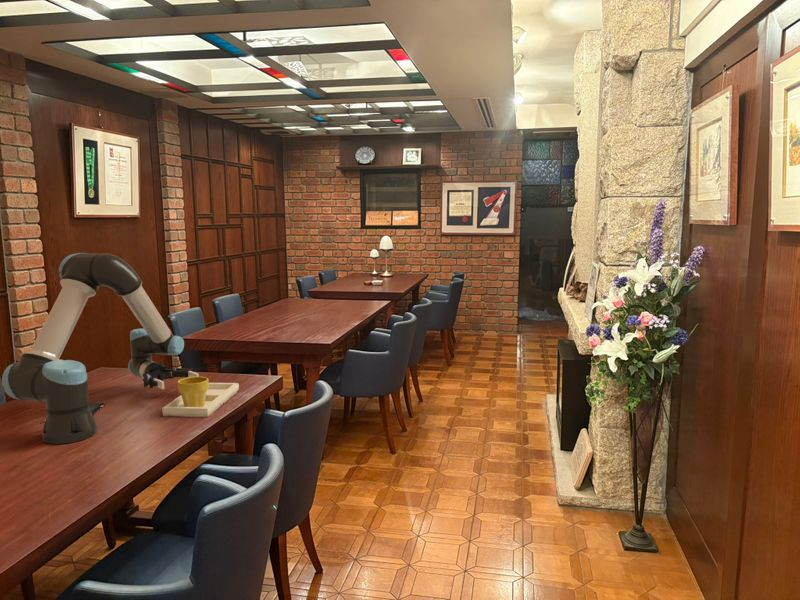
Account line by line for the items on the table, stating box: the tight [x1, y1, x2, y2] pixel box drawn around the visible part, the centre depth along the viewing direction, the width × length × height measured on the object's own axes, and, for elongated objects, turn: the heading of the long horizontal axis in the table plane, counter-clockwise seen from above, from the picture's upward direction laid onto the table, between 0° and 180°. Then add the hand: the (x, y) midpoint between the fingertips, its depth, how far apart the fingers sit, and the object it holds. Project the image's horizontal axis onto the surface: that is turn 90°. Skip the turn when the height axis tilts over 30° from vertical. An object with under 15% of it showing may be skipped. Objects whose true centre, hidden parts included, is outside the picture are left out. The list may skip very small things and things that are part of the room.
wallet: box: [39, 402, 107, 425], centre depth 201 cm, size 20×2×15 cm
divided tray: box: [161, 382, 240, 418], centre depth 212 cm, size 31×16×3 cm, turn 176°
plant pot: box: [177, 376, 210, 407], centre depth 204 cm, size 10×10×10 cm
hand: (181, 381), depth 210 cm, fingers open, 13 cm apart
